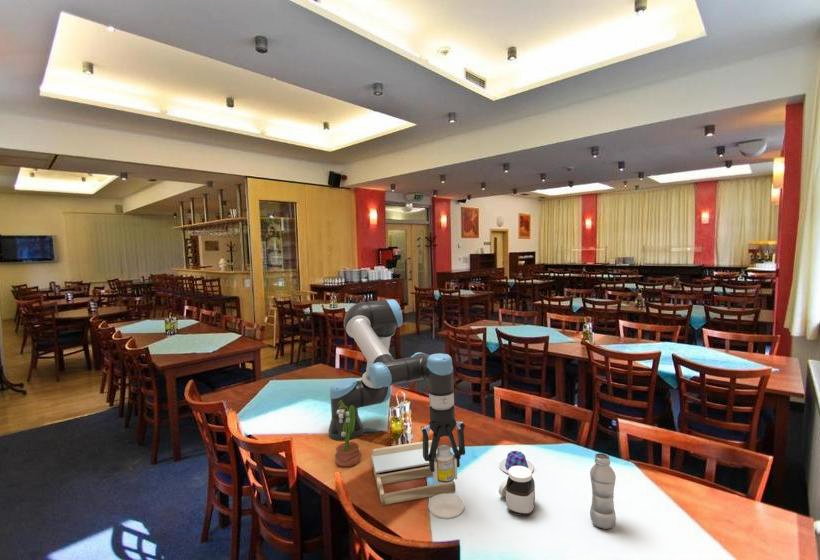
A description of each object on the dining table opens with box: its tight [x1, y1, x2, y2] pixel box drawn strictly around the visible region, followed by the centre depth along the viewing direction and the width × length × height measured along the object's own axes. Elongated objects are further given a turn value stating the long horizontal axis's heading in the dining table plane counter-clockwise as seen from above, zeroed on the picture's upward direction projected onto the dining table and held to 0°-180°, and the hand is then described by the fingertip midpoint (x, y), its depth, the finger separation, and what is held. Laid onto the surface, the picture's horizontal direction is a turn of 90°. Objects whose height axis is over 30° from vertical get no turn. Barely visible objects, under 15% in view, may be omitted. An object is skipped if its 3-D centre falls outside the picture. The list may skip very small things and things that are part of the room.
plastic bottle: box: [589, 452, 617, 530], centre depth 113 cm, size 6×7×20 cm
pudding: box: [499, 450, 535, 475], centre depth 145 cm, size 12×12×5 cm
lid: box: [370, 439, 437, 474], centre depth 148 cm, size 12×24×3 cm, turn 103°
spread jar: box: [498, 466, 536, 516], centre depth 124 cm, size 12×11×12 cm
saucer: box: [428, 493, 465, 520], centre depth 124 cm, size 11×11×1 cm
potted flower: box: [334, 401, 362, 467], centre depth 153 cm, size 12×10×25 cm
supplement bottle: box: [435, 444, 455, 484], centre depth 123 cm, size 6×6×10 cm
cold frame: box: [370, 456, 456, 506], centre depth 142 cm, size 26×24×3 cm
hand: (445, 478), depth 124 cm, fingers closed on supplement bottle, 5 cm apart
